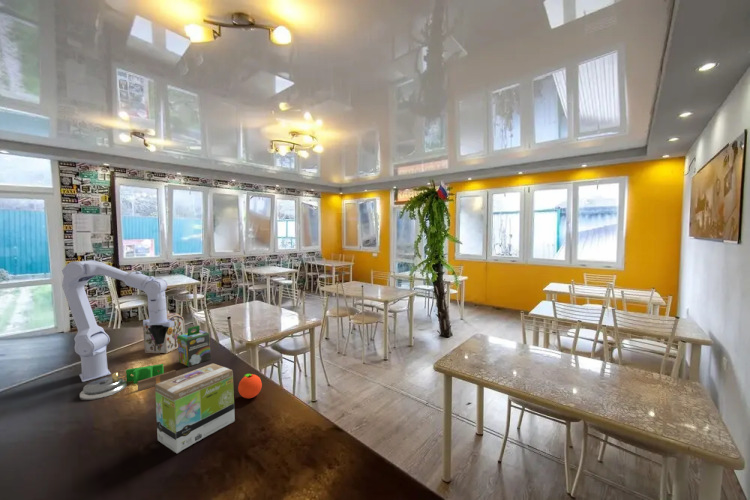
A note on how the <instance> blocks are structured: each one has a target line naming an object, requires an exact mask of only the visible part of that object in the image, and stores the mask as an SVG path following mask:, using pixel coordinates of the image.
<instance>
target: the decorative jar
mask: <svg viewBox="0 0 750 500" xmlns="http://www.w3.org/2000/svg"><path fill="white" fill-rule="evenodd" d="M166 310H167V319H168V320H171V321H174V325H175V326H173V327H169V328H168V330H167V332H166V335H165V339H164V343H163V344H160V345H156V342H155V340H154V337H153V335H152V334H151V332H150V331H149V330H148V328H150V327H151V326H152V325H143V324H142V330H143V344H144V345H143V346H144V353H145V354H160V353H167V354H169V353H171V352H174V351H175V349H176V350H177V349H178V341H177V336H179V335H182V334H185V333H186V329H185V327H186V325H185V319H184V317H183V316H182V315H181V314H179V313H177V312H170V310H168V309H166ZM147 319H149V317H148V318H147ZM170 351H171V352H170ZM168 352H169V353H168Z"/></svg>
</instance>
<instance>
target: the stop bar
mask: <svg viewBox="0 0 750 500" xmlns="http://www.w3.org/2000/svg"><path fill="white" fill-rule="evenodd" d="M176 371H177V370H176V369H173V370H170V371H167V372H164V373H163V374H160V375H157V376H153V377H150V378H147V379H144V380H141V381H137V382H138V383H137V391H139V392H140V391H143V390H147V389H150V388H152V387H153V388H154V387H155V385H156V384H157V383H160V382H163V381H166V380H168V379H171V378H174V377H177V372H176Z"/></svg>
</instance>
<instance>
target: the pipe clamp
mask: <svg viewBox="0 0 750 500" xmlns="http://www.w3.org/2000/svg"><path fill="white" fill-rule="evenodd" d="M164 370H165V369H164V363H160V364H155V365H154V364H153V365H148V366H147V365H146V366H140V367H134V368H128V369H125V378H126V382H127V383H130V382H133V385H134V384H135V385H136V384H138V382H137V381H141V380H144V379H147V378H150V377H153V376H157V375H160V374H163V373H165V372H164Z"/></svg>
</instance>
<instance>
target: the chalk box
mask: <svg viewBox="0 0 750 500" xmlns="http://www.w3.org/2000/svg"><path fill="white" fill-rule="evenodd" d="M194 329H195V330H194ZM192 330H193V331H192ZM177 341H178V350H177V351H178V358H179V359H178V361H179V363H180V364H183V365H184V366H186V367H188V368H190V367H192V366H196V365H198V364H202V363H204V362H207V361H211V360H212V357H211V354H212V353H211V342H210V341H211V340H210V332H208V331H204V330H201V326H200V325H194V326H190V327H188V328H187V332H185V334H182V335H179V336H177Z"/></svg>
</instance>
